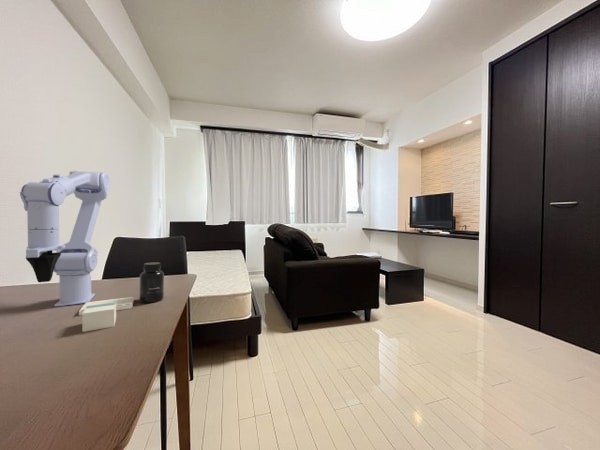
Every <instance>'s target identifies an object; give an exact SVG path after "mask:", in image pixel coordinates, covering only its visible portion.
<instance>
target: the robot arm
mask: <svg viewBox="0 0 600 450" xmlns="http://www.w3.org/2000/svg"><path fill="white" fill-rule="evenodd" d="M110 182H111V181H110V177H109V175H108V174H107V173H106V172H97V171H95V172H94V171H93V172H92V171H91V172H90V171H77V170H72V171H69V175H67V176H65V175H62V174H57V173H56V174H53V175H52V177H50V178H44V179H42V180H41V181H39V182H36V181H35V182H33V181H32V182H31V181H30V182H27V183H26V184H23V186H22V187H21V189H20V191H19V196H20V199H21V202H23V209H24V211H26V214H27V215H26V216H27V246H26V250H25V259H26V261H27V262H28V263H29V265H30V266H31V268H32V270H33V272H34V275H35V277H36V280H37V282H38V283H47V282H50V281H52V278H53V275H54V273H55V274H56V276H58V277H59V280H58V281H59V283H58V284H59V300H58V301H57V302H56V303H55V304H54V307H62V306H72V305H79V304H81V305H82V304H85V303H86V302H91V300H92V299H93V298H94V296H95V295H96V292H95V293H93V292H92V275H91V272H94V270H95V269H96V267H97V264H98V253H99V252H98V250H97V248H96V247H95V246H93V245H92V244H91V240H92V237H93V233H94V230H95V226H96V222H97V218H98V215H99V212H100V208H101V204H102V202H103V200H106V199H107V197H108V195H109V191H110V188H111V184H110ZM72 194H74V196H75V198H77V199H79V200H81V201H82V202H81V205H80V207H79V211H78V214H77V217H76V220H75V224H74V227H73V230H72V233H71V236H70V239H69V241H68V242H66V243H64V244H62V245H61V244H60V206H61V205H62V204H63V203H64V200H65V199H66V198H67V197H68V196H70V195H72ZM54 251H56V252H54Z"/></svg>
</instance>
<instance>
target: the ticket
mask: <svg viewBox="0 0 600 450" xmlns="http://www.w3.org/2000/svg"><path fill="white" fill-rule="evenodd" d="M112 302H116V312H117V311H123V310H124V311H125V310H130V309H133V306H134V302H135V296H129V297H120V298H111V299H106V300H104V299H103V300H102V299H101V300H95V301H89V302H86V303H83V305H82V307H81V308H80V309H79V311H78V316H82V313H83V312H84V310H85V308H86V307H87V306H90V305H97V304H105V303H112Z"/></svg>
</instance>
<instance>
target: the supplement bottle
mask: <svg viewBox="0 0 600 450" xmlns="http://www.w3.org/2000/svg"><path fill="white" fill-rule="evenodd" d="M161 265H162V264H161V262H157V261H156V262H155V261H153V262H146V263H143V271H142V272H141V273H140V274H139V294H138V295H139V296H138V297H139V302H140V303H143V304H150V303H151V304H152V303H153V304H154V303H157V301H158V302H160V301H162V300H163V299H164V294H165V293H164V291H165V287H164V286H165V273H164V271H162V270H161Z"/></svg>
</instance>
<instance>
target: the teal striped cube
mask: <svg viewBox="0 0 600 450" xmlns="http://www.w3.org/2000/svg"><path fill="white" fill-rule="evenodd" d="M81 318H82V319H81V320H82V321H81V324H82V326H81V328H82V333H85V332H90V331H96V330H102V329H107V328H108V329H109V328H114V327H115V326H116V325H115V324H116V322H117V311H116V302H112V303H105V304H97V305H90V306H87V307H86V308H85V310H84V312H83V313H82V315H81Z"/></svg>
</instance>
